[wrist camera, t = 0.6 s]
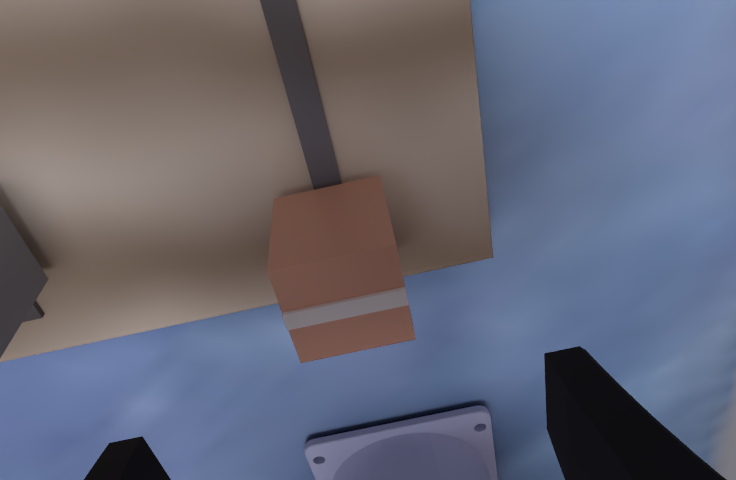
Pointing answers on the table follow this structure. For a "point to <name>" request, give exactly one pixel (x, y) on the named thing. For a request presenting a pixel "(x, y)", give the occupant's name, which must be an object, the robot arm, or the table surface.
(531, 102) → the table surface
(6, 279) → the fader
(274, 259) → the fader
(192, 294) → the console
